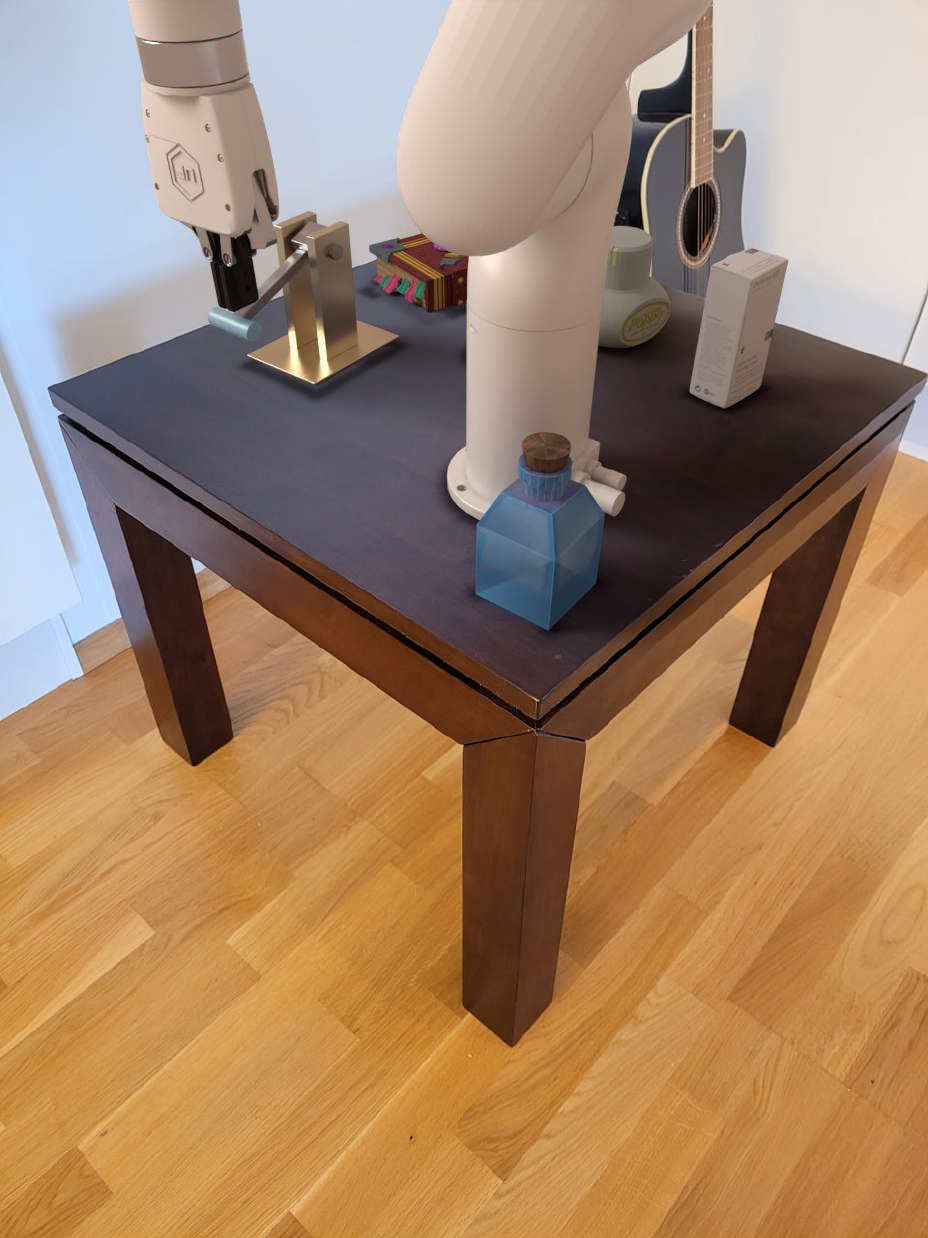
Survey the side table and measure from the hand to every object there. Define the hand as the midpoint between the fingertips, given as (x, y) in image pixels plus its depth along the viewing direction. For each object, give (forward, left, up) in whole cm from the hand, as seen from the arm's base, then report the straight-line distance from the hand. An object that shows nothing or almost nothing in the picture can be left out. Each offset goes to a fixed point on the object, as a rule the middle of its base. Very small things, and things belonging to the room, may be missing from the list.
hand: (239, 303), depth 81 cm
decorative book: (0, -30, -9) cm, 31 cm away
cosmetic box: (-34, -28, -9) cm, 45 cm away
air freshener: (-20, -31, -9) cm, 38 cm away
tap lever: (0, -5, -1) cm, 6 cm away
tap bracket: (0, -10, -9) cm, 13 cm away
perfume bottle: (-36, +6, -9) cm, 37 cm away
